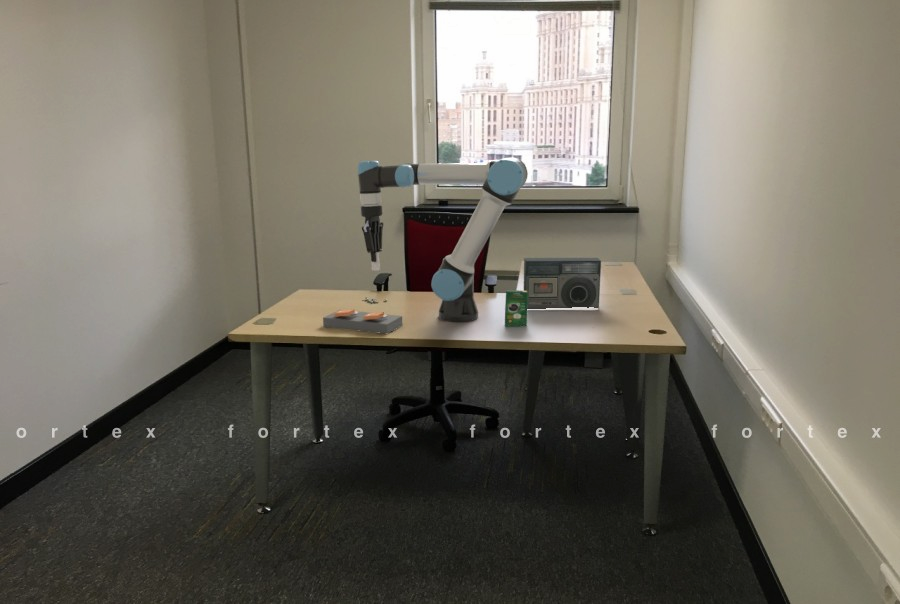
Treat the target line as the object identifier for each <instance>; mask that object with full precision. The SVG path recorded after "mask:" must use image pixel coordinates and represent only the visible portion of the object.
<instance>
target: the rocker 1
mask: <svg viewBox="0 0 900 604" xmlns="http://www.w3.org/2000/svg"><path fill="white" fill-rule="evenodd" d="M339 310H340V311H339ZM339 310H337V311H338V312H336V311H335V312H336V313H334V312H333V313H334V315H335V316H349V315H351V314H353V313H355V311H356V310H355V309H339Z"/></svg>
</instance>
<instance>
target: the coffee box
mask: <svg viewBox="0 0 900 604" xmlns="http://www.w3.org/2000/svg"><path fill="white" fill-rule="evenodd" d="M504 307H505V308H504V327H510V326H511V327H521V326H523V327H528V311H527V308H528V291H524V290H511V289H509V290H508V289H506V290H505V306H504Z"/></svg>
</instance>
